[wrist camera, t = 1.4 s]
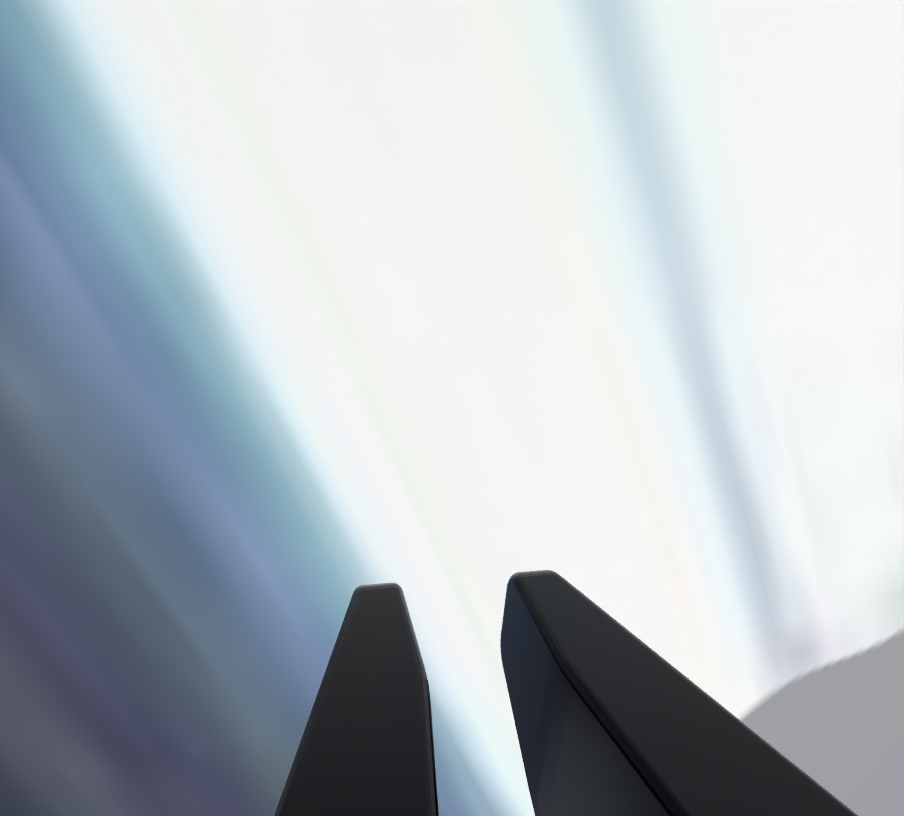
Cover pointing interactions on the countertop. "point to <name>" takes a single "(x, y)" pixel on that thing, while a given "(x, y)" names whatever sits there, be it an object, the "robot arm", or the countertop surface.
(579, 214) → the countertop surface
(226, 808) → the countertop surface
